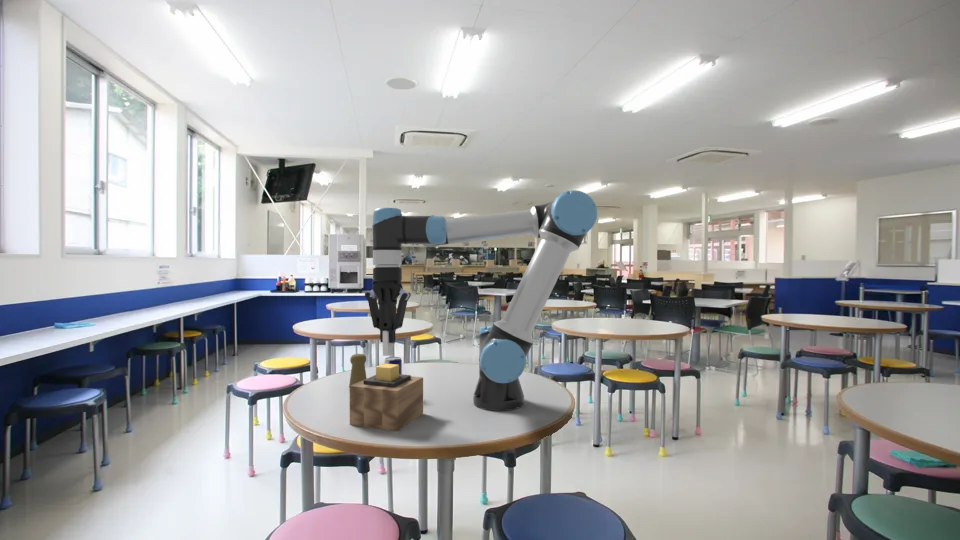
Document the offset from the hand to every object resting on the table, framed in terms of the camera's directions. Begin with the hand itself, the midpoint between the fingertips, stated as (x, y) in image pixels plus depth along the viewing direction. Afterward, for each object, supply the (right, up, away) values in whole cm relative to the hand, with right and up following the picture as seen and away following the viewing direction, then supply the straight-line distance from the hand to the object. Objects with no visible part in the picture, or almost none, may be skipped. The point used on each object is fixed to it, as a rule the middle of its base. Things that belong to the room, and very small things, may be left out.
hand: (387, 354), depth 118 cm
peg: (0, -12, 0) cm, 12 cm away
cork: (-17, -17, +31) cm, 39 cm away
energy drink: (-3, -17, +20) cm, 27 cm away
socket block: (0, -17, 0) cm, 17 cm away
